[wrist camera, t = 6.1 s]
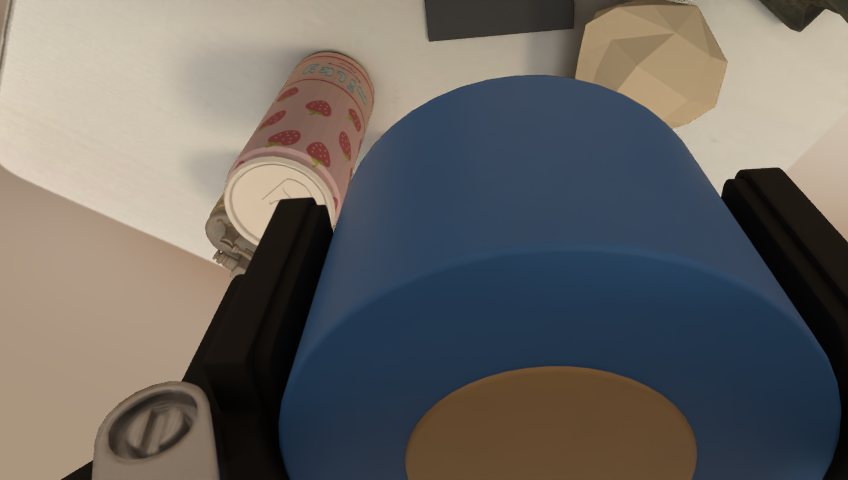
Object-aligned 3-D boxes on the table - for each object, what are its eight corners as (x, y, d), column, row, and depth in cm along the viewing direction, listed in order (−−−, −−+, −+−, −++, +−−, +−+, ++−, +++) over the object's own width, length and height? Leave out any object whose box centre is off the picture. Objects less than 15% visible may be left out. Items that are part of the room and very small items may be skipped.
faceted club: (750, 35, 38) (513, 296, 51) (634, -49, 37) (428, 236, 51) (773, 68, 30) (490, 363, 44) (630, -35, 30) (390, 293, 44)
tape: (306, 90, 10) (205, 267, 6) (737, 54, 9) (938, 228, 5) (368, 379, 13) (330, 607, 9) (682, 369, 13) (776, 609, 9)
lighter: (231, 176, 46) (181, 255, 38) (256, 139, 44) (209, 214, 36) (313, 228, 48) (282, 313, 40) (340, 195, 46) (314, 277, 38)
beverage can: (387, 72, 41) (355, 184, 29) (357, 144, 44) (316, 273, 32) (304, 35, 40) (234, 135, 28) (280, 112, 43) (206, 233, 31)
